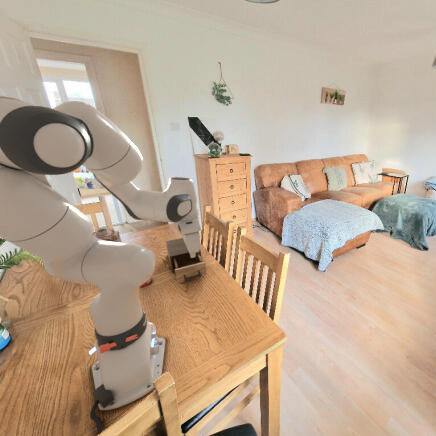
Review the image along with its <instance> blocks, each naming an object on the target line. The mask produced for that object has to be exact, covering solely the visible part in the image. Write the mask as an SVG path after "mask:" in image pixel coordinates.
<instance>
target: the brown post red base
mask: <svg viewBox="0 0 436 436" xmlns="http://www.w3.org/2000/svg"><path fill="white" fill-rule="evenodd" d="M151 283H152V278H150V279H149V280H148V281H147V282H145V283H144V284H143V285H141V286H140V288H145V287H147V286H149V285H150V284H151Z"/></svg>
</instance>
